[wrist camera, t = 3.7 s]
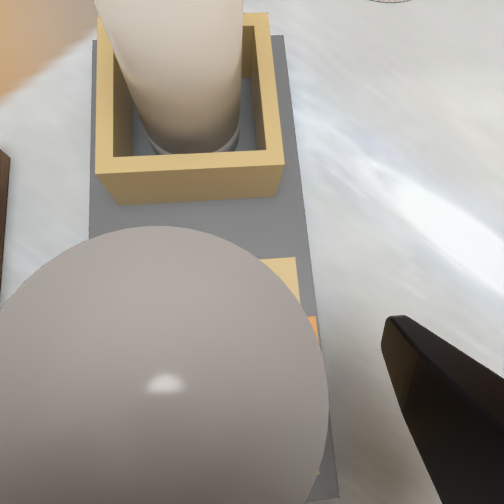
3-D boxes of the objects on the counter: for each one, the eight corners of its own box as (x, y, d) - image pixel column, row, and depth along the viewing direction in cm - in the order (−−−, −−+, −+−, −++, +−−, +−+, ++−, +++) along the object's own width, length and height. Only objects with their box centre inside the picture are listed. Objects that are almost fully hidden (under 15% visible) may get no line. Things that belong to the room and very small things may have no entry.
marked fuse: (264, 416, 15) (357, 591, 4) (153, 427, 14) (-66, 647, 4) (255, 306, 16) (311, 211, 5) (151, 315, 15) (-27, 231, 5)
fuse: (242, 170, 17) (258, -130, 6) (149, 174, 17) (3, -131, 6) (236, 90, 18) (241, -287, 7) (148, 93, 18) (20, -294, 7)
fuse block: (332, 488, 15) (367, 535, 11) (93, 514, 14) (42, 575, 11) (280, 50, 20) (293, -23, 16) (99, 55, 19) (66, -20, 15)
